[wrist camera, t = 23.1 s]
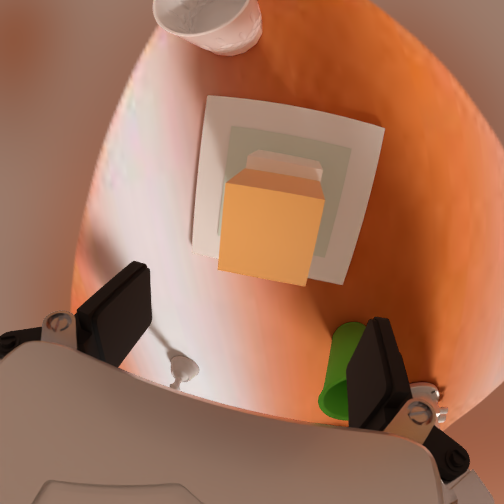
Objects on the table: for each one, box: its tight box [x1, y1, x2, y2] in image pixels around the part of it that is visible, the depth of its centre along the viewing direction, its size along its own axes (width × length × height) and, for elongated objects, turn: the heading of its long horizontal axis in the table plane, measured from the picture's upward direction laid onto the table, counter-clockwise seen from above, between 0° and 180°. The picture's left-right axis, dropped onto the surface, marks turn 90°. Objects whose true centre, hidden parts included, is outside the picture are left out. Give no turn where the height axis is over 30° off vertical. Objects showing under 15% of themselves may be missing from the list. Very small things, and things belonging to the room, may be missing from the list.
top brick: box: [218, 168, 325, 286], centre depth 21 cm, size 6×6×6 cm
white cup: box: [153, 0, 262, 56], centre depth 19 cm, size 8×8×10 cm
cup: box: [318, 322, 366, 420], centre depth 31 cm, size 9×9×11 cm
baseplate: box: [192, 95, 385, 285], centre depth 29 cm, size 18×18×1 cm
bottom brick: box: [246, 150, 323, 182], centre depth 26 cm, size 6×8×6 cm
